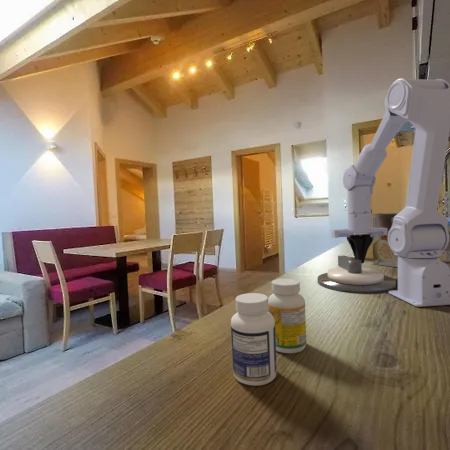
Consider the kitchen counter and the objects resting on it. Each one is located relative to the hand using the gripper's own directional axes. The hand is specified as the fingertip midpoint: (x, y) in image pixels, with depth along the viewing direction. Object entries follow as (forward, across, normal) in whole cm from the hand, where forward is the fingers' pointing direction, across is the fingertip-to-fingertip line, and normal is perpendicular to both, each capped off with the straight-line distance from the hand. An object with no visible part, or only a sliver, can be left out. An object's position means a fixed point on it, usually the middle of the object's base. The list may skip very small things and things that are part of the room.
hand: (359, 262), depth 85 cm
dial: (+2, +5, +6) cm, 8 cm away
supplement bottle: (+4, +30, +38) cm, 48 cm away
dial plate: (+4, +5, +6) cm, 9 cm away
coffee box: (+4, -16, -12) cm, 20 cm away
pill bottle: (+4, +36, +45) cm, 57 cm away
